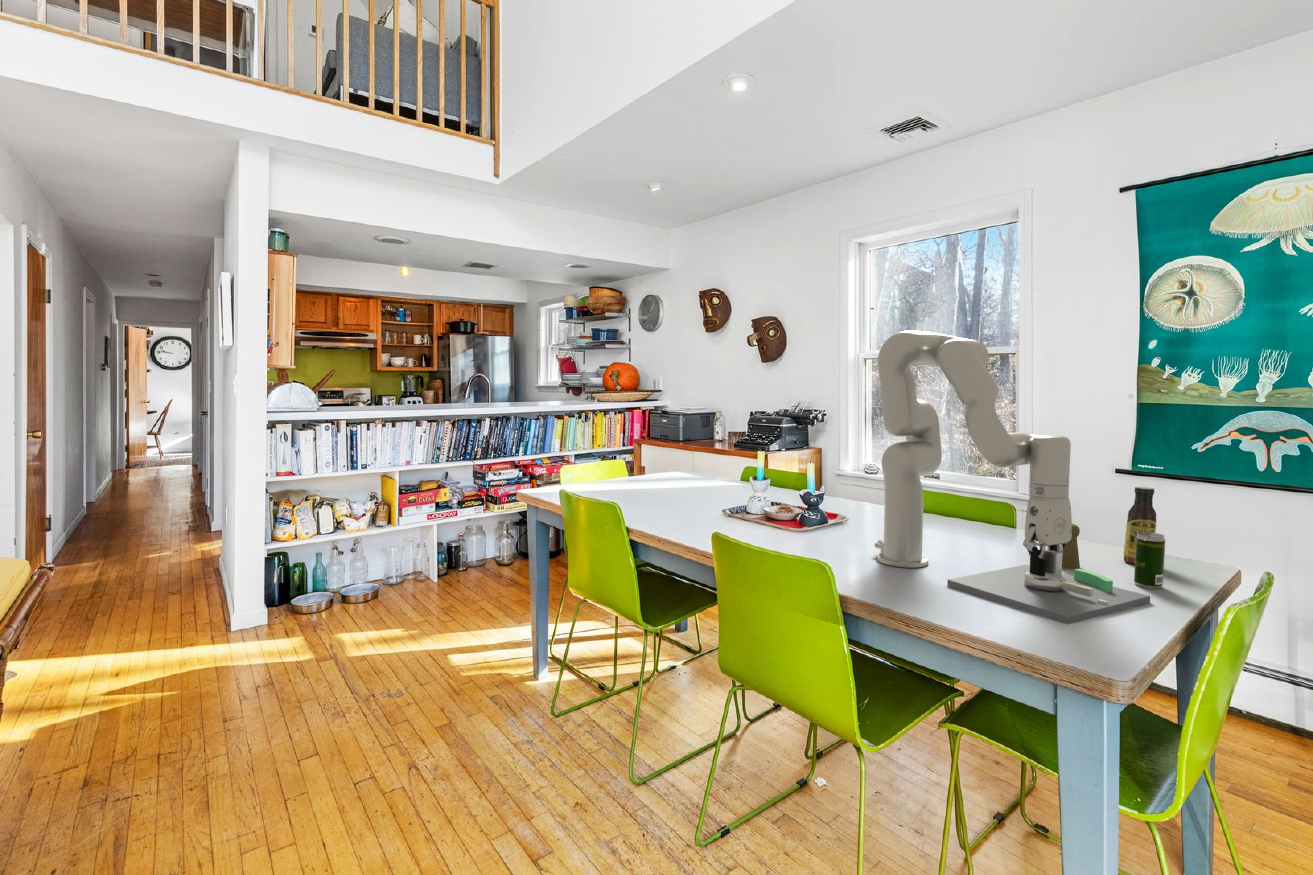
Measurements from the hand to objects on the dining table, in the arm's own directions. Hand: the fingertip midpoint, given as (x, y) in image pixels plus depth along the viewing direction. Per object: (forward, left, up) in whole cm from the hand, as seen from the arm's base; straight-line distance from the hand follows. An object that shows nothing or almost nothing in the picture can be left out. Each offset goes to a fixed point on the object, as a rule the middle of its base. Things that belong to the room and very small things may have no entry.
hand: (1045, 572), depth 147 cm
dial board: (0, 0, -5) cm, 5 cm away
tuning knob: (+3, 0, -3) cm, 4 cm away
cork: (-12, +27, -5) cm, 30 cm away
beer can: (+7, +27, -5) cm, 28 cm away
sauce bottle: (-5, +46, -5) cm, 47 cm away
